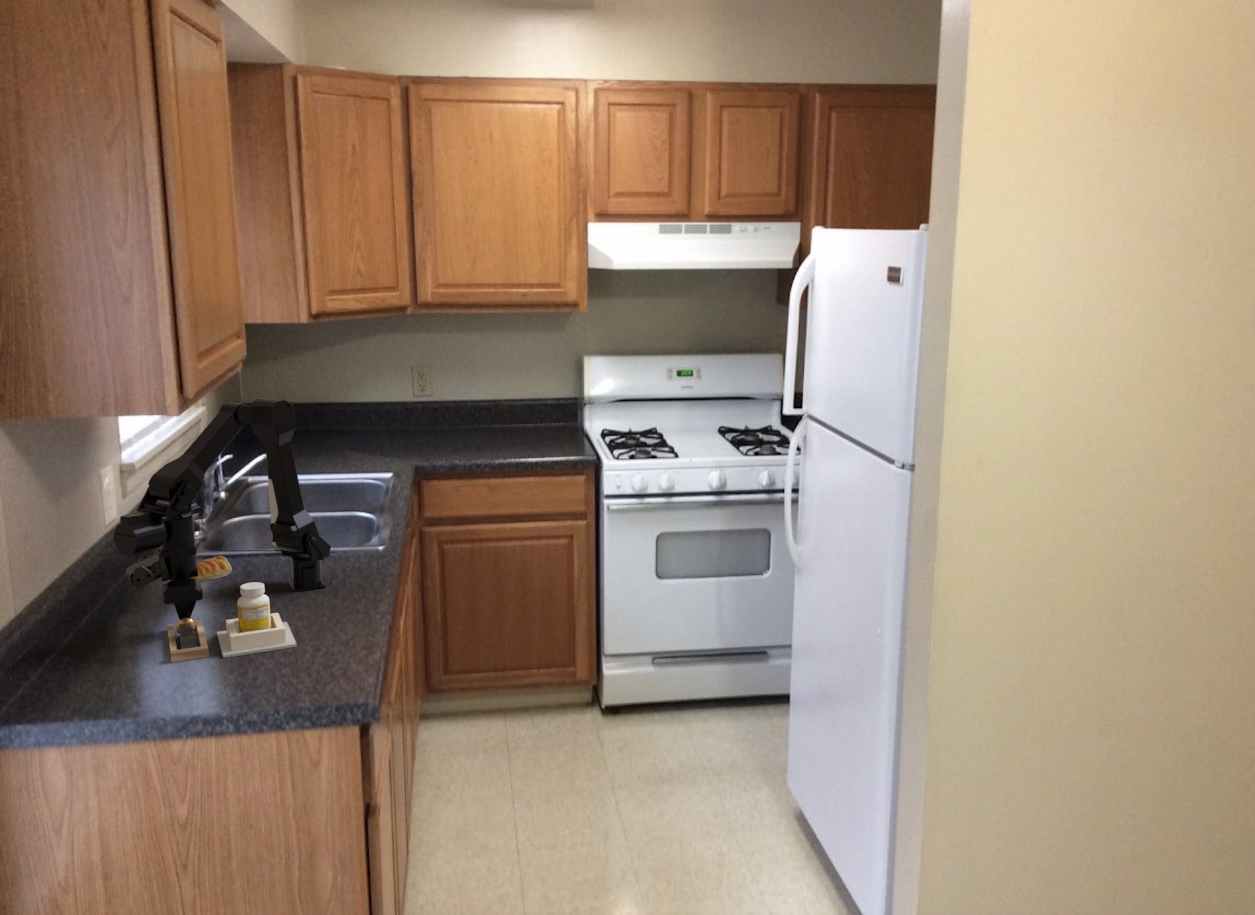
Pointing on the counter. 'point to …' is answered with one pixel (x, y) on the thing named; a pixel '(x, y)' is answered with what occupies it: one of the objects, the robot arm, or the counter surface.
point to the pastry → (213, 568)
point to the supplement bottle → (253, 608)
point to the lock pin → (186, 632)
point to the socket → (255, 638)
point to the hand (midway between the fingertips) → (184, 625)
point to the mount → (189, 652)
